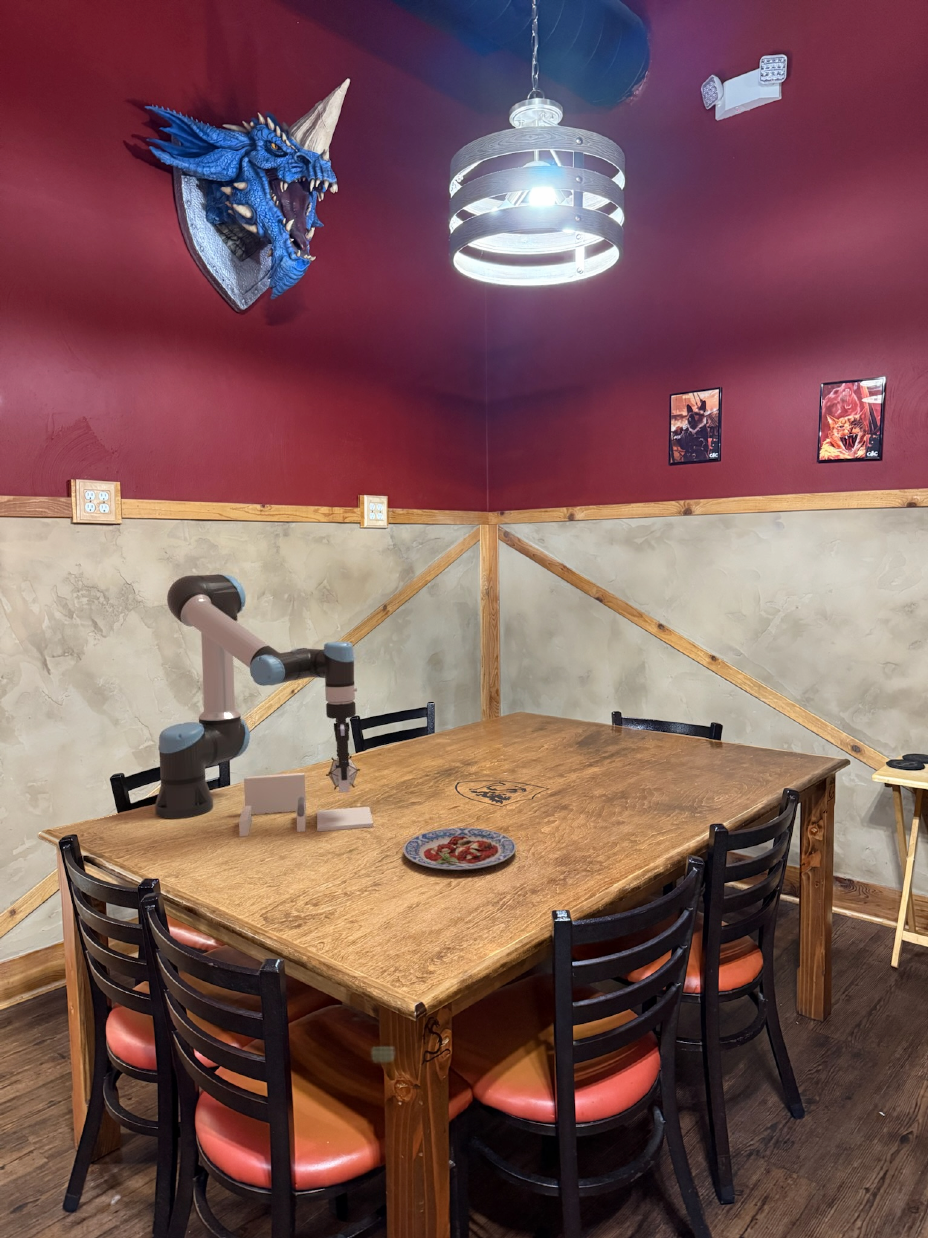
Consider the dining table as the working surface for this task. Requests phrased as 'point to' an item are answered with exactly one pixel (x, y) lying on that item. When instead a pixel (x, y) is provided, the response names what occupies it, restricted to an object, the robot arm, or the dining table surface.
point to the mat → (344, 819)
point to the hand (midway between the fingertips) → (343, 786)
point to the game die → (335, 777)
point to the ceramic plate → (459, 848)
